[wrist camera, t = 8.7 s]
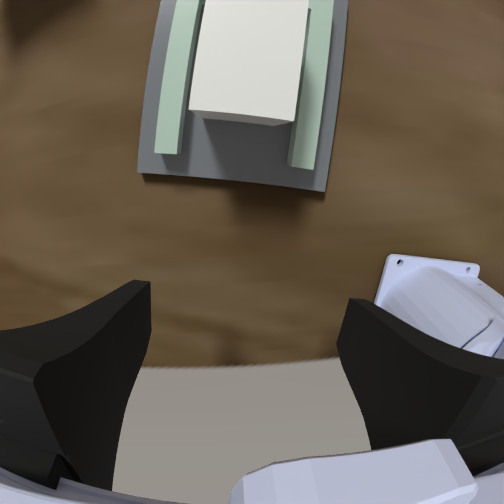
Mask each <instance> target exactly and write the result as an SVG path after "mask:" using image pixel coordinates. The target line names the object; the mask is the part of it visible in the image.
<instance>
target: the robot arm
mask: <svg viewBox="0 0 504 504" xmlns="http://www.w3.org/2000/svg"><path fill="white" fill-rule="evenodd" d="M398 260H401V262H400V263H399V264H397V262H398ZM466 269H467V270H466ZM479 270H480V267H479V265H477V264H475V263H467V262H458V261H450V260H442V259H433V258H425V257H416V256H408V255H399V254H391V255H389V256H388V257H387V259H386V262H385V266H384V269H383V273H382V277H381V280H380V284H379V287H378V291H377V294H376V297H375V301H374V303H372V302H370V301H367V300H365V299H353V298H349V302H348V305H347V309H346V312H345V316H344V319H343V323H342V326H341V330H340V333H339V336H338V339H337V343H336V344H337V349H338V353H339V357H340V361H341V364H342V367H343V369H344V372H345V374H346V377H347V379H348V381H349V383H350V386H351V388H352V390H353V393H354V395H355V398H356V400H357V402H358V405H359V407H360V409H361V412H362V415H363V418H364V421H365V425H366V429H367V432H368V436H369V440H370V445H371V450H370V451H363V452H355V453H348V454H338V455H327V456H316V457H315V456H314V457H303V458H298V459H292V460H286V461H280V462H273V463H271V464H269V465H267V466H264V467H262V468H260V469H257V470H255V471H252V472H250V473H247V474H246V475H245V476H243V477H242V478H241V480H240V481H239V482H238V483H237V484H236V485H235V486H234V488H233V489H232V490H231V493H230V498H229V503H228V504H504V297H503V296H501V295H500V294H499V293H497V292H496V291H495V290H493V289H492V288H491V287H489V286H488V285H486V284H485V283H484V282H482V281H481V280H480V279H478V278H477V277H478V274H479ZM151 331H152V330H151V287H150V282H149V281H140V280H132V281H130V282H128V283H126V284H125V285H123V286H121V287H119V288H118V289H116V290H114V291H112V292H111V293H109V294H107V295H105V296H104V297H102V298H100V299H98V300H96V301H94V302H92V303H90V304H89V305H87V306H85V307H83V308H81V309H79V310H76V311H74V312H72V313H69V314H67V315H64V316H61V317H59V318H56V319H53V320H49V321H46V322H42V323H39V324H35V325H31V326H27V327H22V328H16V329H10V330H2V331H0V504H185V503H177V502H169V501H161V500H155V499H149V498H143V497H137V496H132V495H127V494H122V493H117V492H113V491H112V484H113V474H114V468H115V461H116V454H117V448H118V442H119V437H120V432H121V427H122V422H123V418H124V413H125V409H126V406H127V402H128V399H129V396H130V393H131V391H132V388H133V386H134V383H135V380H136V378H137V375H138V373H139V370H140V368H141V365H142V362H143V360H144V357H145V355H146V352H147V348H148V344H149V339H150V335H151Z"/></svg>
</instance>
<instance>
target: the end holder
mask: <svg viewBox="0 0 504 504" xmlns="http://www.w3.org/2000/svg"><path fill="white" fill-rule="evenodd" d="M205 2H206V0H161V4H160V8H159V13H158V18H157V23H156V28H155V33H154V38H153V43H152V49H151V55H150V61H149V67H148V74H147V80H146V88H145V95H144V103H143V111H142V120H141V130H140V141H139V153H138V166H137V173H152V174H166V175H180V176H192V177H203V178H214V179H224V180H234V181H243V182H252V183H261V184H269V185H277V186H285V187H293V188H300V189H307V190H314V191H321V192H325V188H326V182H327V176H328V169H329V163H330V156H331V150H332V143H333V136H334V129H335V122H336V114H337V107H338V99H339V90H340V82H341V73H342V64H343V54H344V44H345V33H346V21H347V8H348V0H309V4H308V13H307V21H306V30H305V39H304V47H303V55H302V64H301V72H300V80H299V88H298V95H297V103H296V111H295V118H294V121H293V122H289V123H285V124H281V125H277V126H269V125H261V124H254V123H245V122H236V121H227V120H216V119H204V118H201V117H200V116H198V115H196V114H195V113H193V112H192V111H190V110H189V101H190V94H191V86H192V79H193V72H194V66H195V59H196V53H197V47H198V41H199V35H200V29H201V23H202V18H203V12H204V7H205Z"/></svg>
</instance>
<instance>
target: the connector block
mask: <svg viewBox="0 0 504 504" xmlns="http://www.w3.org/2000/svg"><path fill="white" fill-rule="evenodd" d="M308 4H309V0H206V2H205V7H204V12H203V18H202V23H201V29H200V35H199V41H198V47H197V53H196V59H195V66H194V72H193V79H192V86H191V94H190V101H189V110H190V111H192V112H193V113H195V114H196V115H198V116H200V117H201V118H204V119H216V120H227V121H236V122H245V123H254V124H261V125H269V126H277V125H281V124H285V123H289V122H293V121H294V118H295V111H296V103H297V95H298V88H299V80H300V72H301V64H302V55H303V47H304V39H305V30H306V21H307V13H308Z"/></svg>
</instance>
